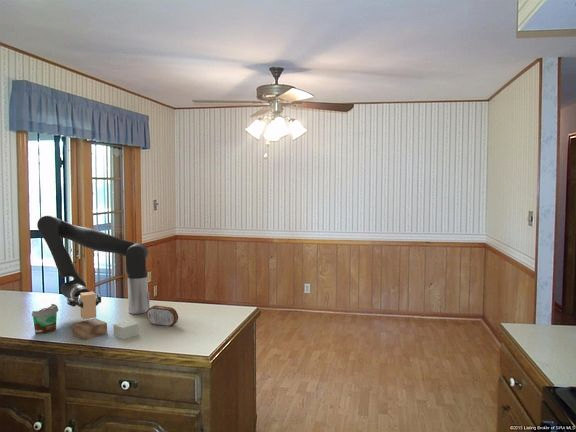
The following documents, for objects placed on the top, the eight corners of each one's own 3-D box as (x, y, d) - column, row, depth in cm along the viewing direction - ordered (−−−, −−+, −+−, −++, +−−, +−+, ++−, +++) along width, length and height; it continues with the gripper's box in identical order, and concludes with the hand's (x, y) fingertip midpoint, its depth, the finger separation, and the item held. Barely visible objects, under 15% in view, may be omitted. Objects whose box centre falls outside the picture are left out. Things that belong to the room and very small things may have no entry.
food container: (45, 336, 188) (44, 312, 187) (32, 335, 189) (31, 311, 189) (65, 326, 200) (64, 304, 199) (53, 325, 202) (52, 303, 201)
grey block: (128, 331, 194) (128, 320, 194) (138, 335, 190) (137, 323, 189) (113, 336, 189) (113, 324, 188) (123, 339, 184) (122, 327, 184)
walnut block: (95, 329, 197) (95, 318, 197) (107, 334, 191) (106, 322, 191) (72, 335, 190) (71, 323, 189) (83, 340, 183) (83, 328, 183)
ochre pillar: (93, 314, 193) (92, 291, 192) (96, 317, 189) (95, 293, 188) (80, 316, 190) (80, 292, 189) (83, 319, 186) (82, 295, 185)
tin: (178, 325, 201) (178, 307, 201) (174, 328, 198) (174, 309, 198) (150, 322, 206) (149, 304, 206) (145, 324, 203) (145, 306, 203)
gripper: (62, 289, 196) (70, 297, 183) (97, 284, 205) (107, 292, 191) (63, 306, 197) (71, 316, 183) (98, 301, 205) (108, 310, 192)
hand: (89, 304), depth 187 cm, fingers closed on ochre pillar, 5 cm apart
